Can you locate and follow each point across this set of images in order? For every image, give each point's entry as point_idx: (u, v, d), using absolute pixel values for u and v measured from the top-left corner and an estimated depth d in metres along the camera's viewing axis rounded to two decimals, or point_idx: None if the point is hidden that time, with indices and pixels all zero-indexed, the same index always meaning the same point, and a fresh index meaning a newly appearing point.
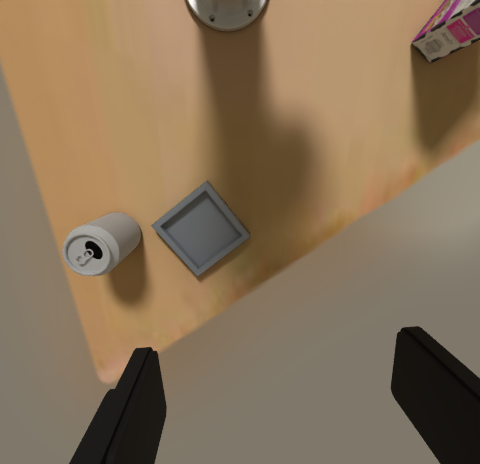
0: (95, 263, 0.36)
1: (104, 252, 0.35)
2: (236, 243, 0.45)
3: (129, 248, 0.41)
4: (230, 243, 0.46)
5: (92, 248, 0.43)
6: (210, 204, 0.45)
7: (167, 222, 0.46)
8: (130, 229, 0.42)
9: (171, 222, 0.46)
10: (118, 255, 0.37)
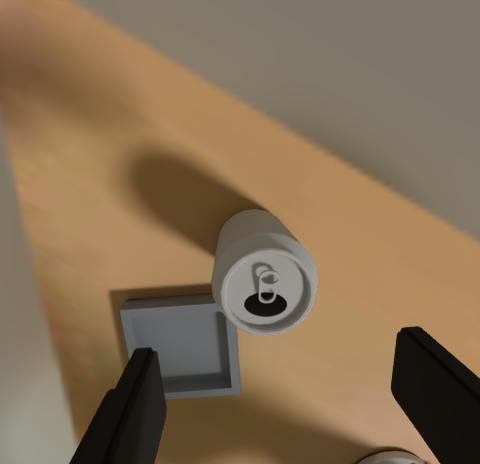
0: (242, 289, 0.17)
1: (249, 317, 0.18)
2: None
3: None
4: None
5: (261, 214, 0.23)
6: (210, 370, 0.31)
7: None
8: None
9: (219, 315, 0.30)
10: (227, 317, 0.19)
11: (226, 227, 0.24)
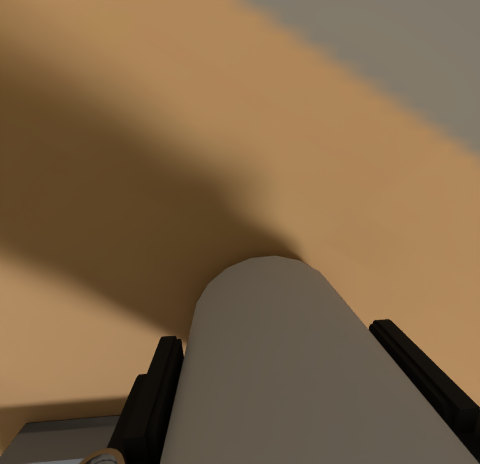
0: None
1: None
2: None
3: None
4: None
5: (295, 286, 0.09)
6: None
7: None
8: None
9: None
10: None
11: (206, 315, 0.09)
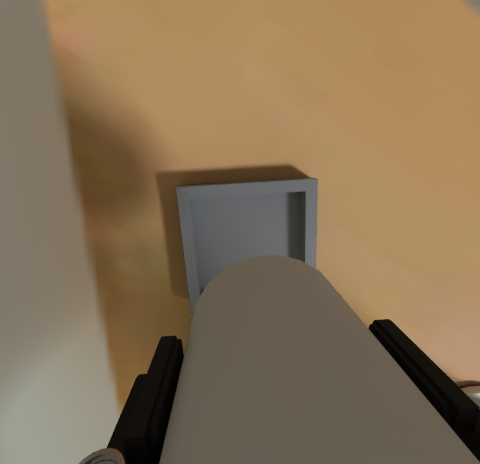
0: None
1: None
2: (193, 288, 0.24)
3: None
4: (198, 274, 0.25)
5: (295, 285, 0.09)
6: None
7: (297, 200, 0.24)
8: None
9: (292, 206, 0.24)
10: None
11: (206, 314, 0.09)
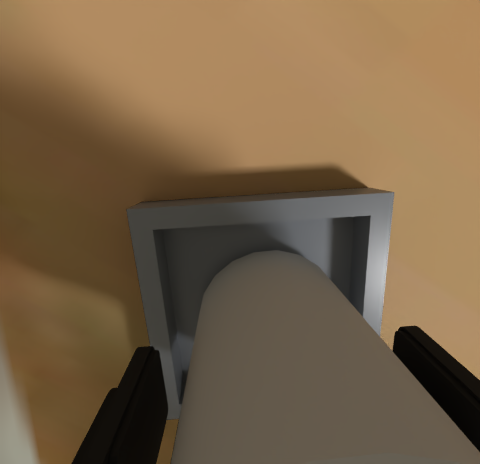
0: None
1: None
2: (166, 380, 0.14)
3: None
4: (175, 354, 0.14)
5: (296, 276, 0.10)
6: None
7: (347, 227, 0.14)
8: None
9: (338, 237, 0.14)
10: None
11: (214, 302, 0.10)
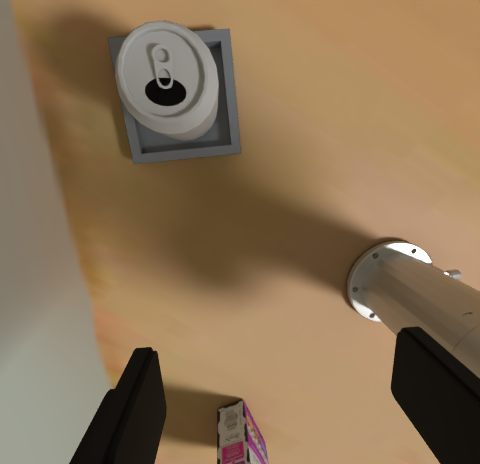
0: (141, 74, 0.18)
1: (152, 106, 0.19)
2: (133, 138, 0.28)
3: None
4: (138, 129, 0.29)
5: None
6: (208, 137, 0.30)
7: (218, 57, 0.28)
8: (175, 138, 0.26)
9: (215, 63, 0.28)
10: (136, 118, 0.20)
11: None
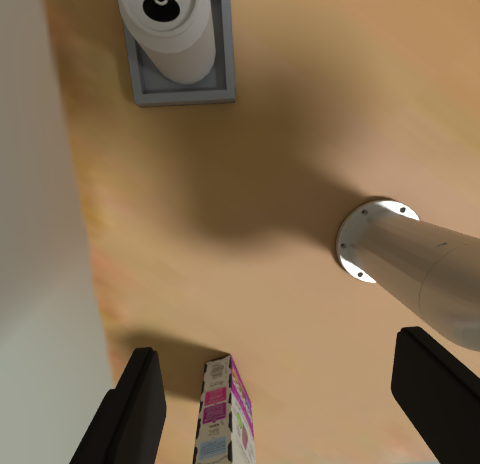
0: None
1: (148, 21, 0.21)
2: (135, 78, 0.30)
3: (146, 53, 0.26)
4: (140, 71, 0.31)
5: None
6: (206, 84, 0.32)
7: (218, 6, 0.30)
8: (173, 74, 0.28)
9: (215, 12, 0.30)
10: (134, 36, 0.22)
11: (150, 8, 0.27)
